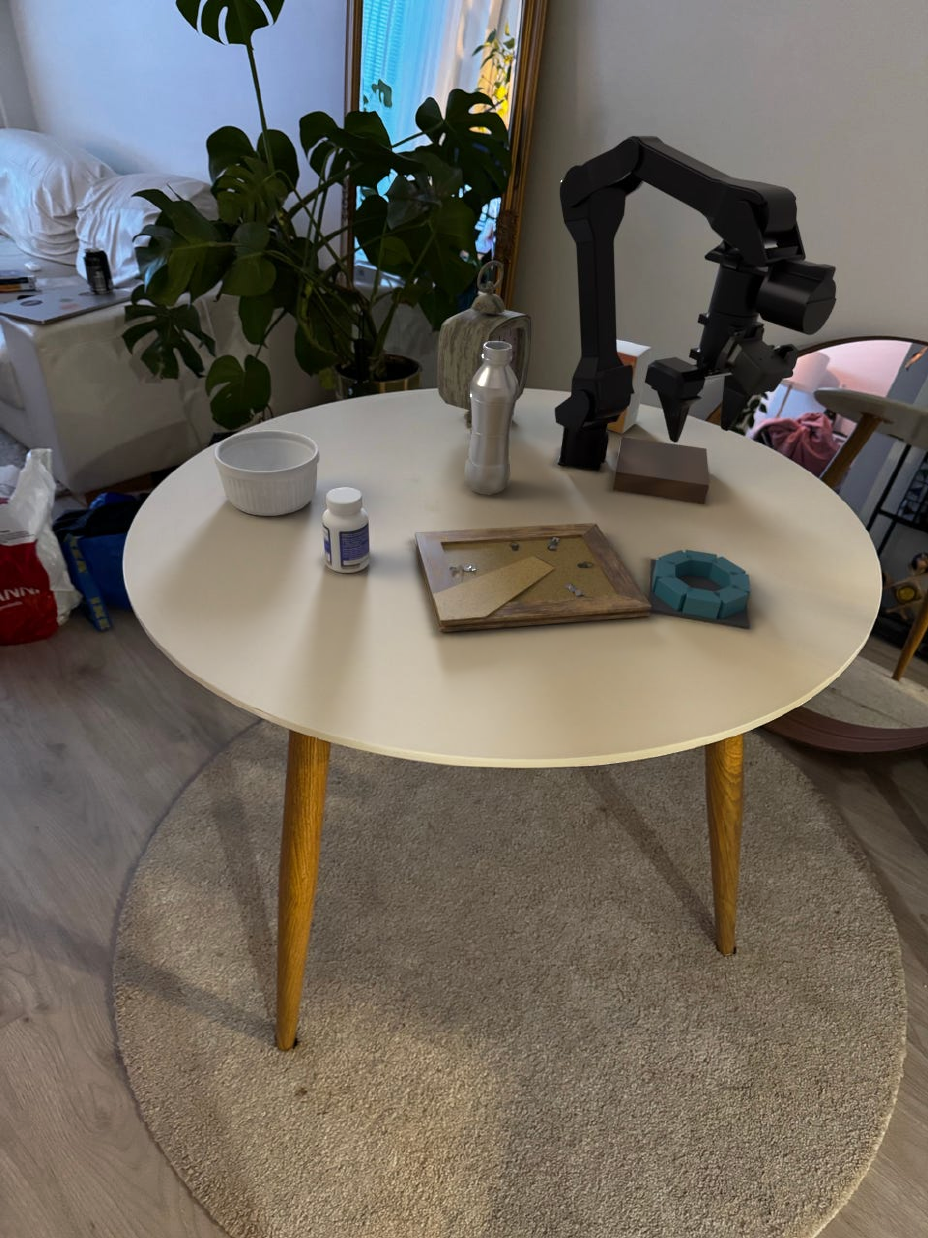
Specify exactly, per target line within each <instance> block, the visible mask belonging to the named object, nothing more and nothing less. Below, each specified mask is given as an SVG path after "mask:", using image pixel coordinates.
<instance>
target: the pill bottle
mask: <svg viewBox="0 0 928 1238" xmlns="http://www.w3.org/2000/svg"><path fill="white" fill-rule="evenodd" d="M362 494H363V493H362V492H361V491H360V490H358V489H356V488H354V487H346V486H345V487H337V488H333V489H331V490H329V491H328V492H327V493H326V496H325V499H326V501H325V503H326V508H327V509H326V510H325V511H324V512H323V514H322V517H321V521H322V536H323V548H324V549H323V550H324V551H323V552H324V561H325V564H326V566H327V567H328V569H331V570H332V571H334V572H337V573H342V574H352V573H356V572H360V571H363V570H364V569H365V568H366V567H368V566H369V564H370V561H371V556H370V555H371V554H370V552H371V551H370V550H371V549H370V524H369V523H370V521H369V514H368V512H367V511H366V509H365V508H363V495H362Z"/></svg>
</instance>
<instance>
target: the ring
mask: <svg viewBox="0 0 928 1238" xmlns="http://www.w3.org/2000/svg"><path fill="white" fill-rule="evenodd" d="M655 560H656V564H655V568H654V572H653V583H652V591H654V592H655V593H654V595H656V596H657V597H658V598H660V599H661V600H662V601H664V602H665V603H667V604H668V605H669V606H671V607H672V608H673V609H675V610H676V611H679V610H681V609H682V613H684V614H689V615H695V616H701V617H707V618H713V619H716V618H717V616H718V617H720V618H721V619H722V618H724V617H727V616H729V615H732V614H734V613H737V612H739V611H742V610H744V607H746V604H748V601H749V598H750V597H751V596H750V595H751V592H752V589H751V584H750V577H749V576H750V575H749V574H748V573H746V570H745V569H743V568H742V567H740V566H738V565H737V564H735V563H733V562H732V561H730V560H729V559H727V558H726V557H724V556H719V557H718V554H715V553H710V552H703V551H697V550H693V549H685V551H684V550H682V549H679V550H677V551H674V552H670V553H668V554H665V555H661V556H659V557H658V559H655ZM686 574H687V575H693V576H699V577H705V578H709V579H711V580H712V581H714V582H715V583H717V584H718V585H720V586H721V587H723V589H721V590H718V591H716V592H714V591H708V590H702V589H696V588H691V587H690V586H688V585H687V584H686V583H684V582H683V581H681V580H680V579H678V577H681V576H684V575H686Z"/></svg>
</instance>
